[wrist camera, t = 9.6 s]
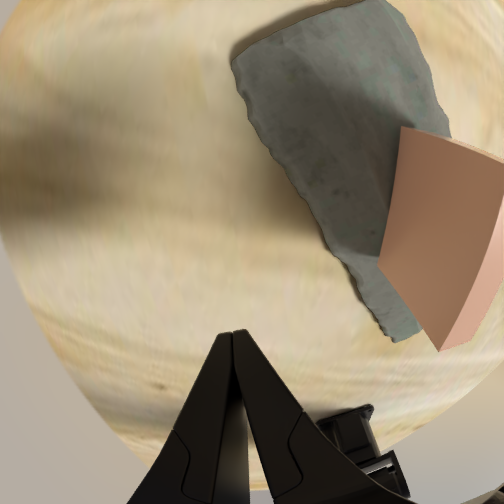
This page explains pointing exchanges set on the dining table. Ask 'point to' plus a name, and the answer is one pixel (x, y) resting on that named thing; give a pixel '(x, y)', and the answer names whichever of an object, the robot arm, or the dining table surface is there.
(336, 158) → the stone slab
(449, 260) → the block
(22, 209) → the dining table surface
